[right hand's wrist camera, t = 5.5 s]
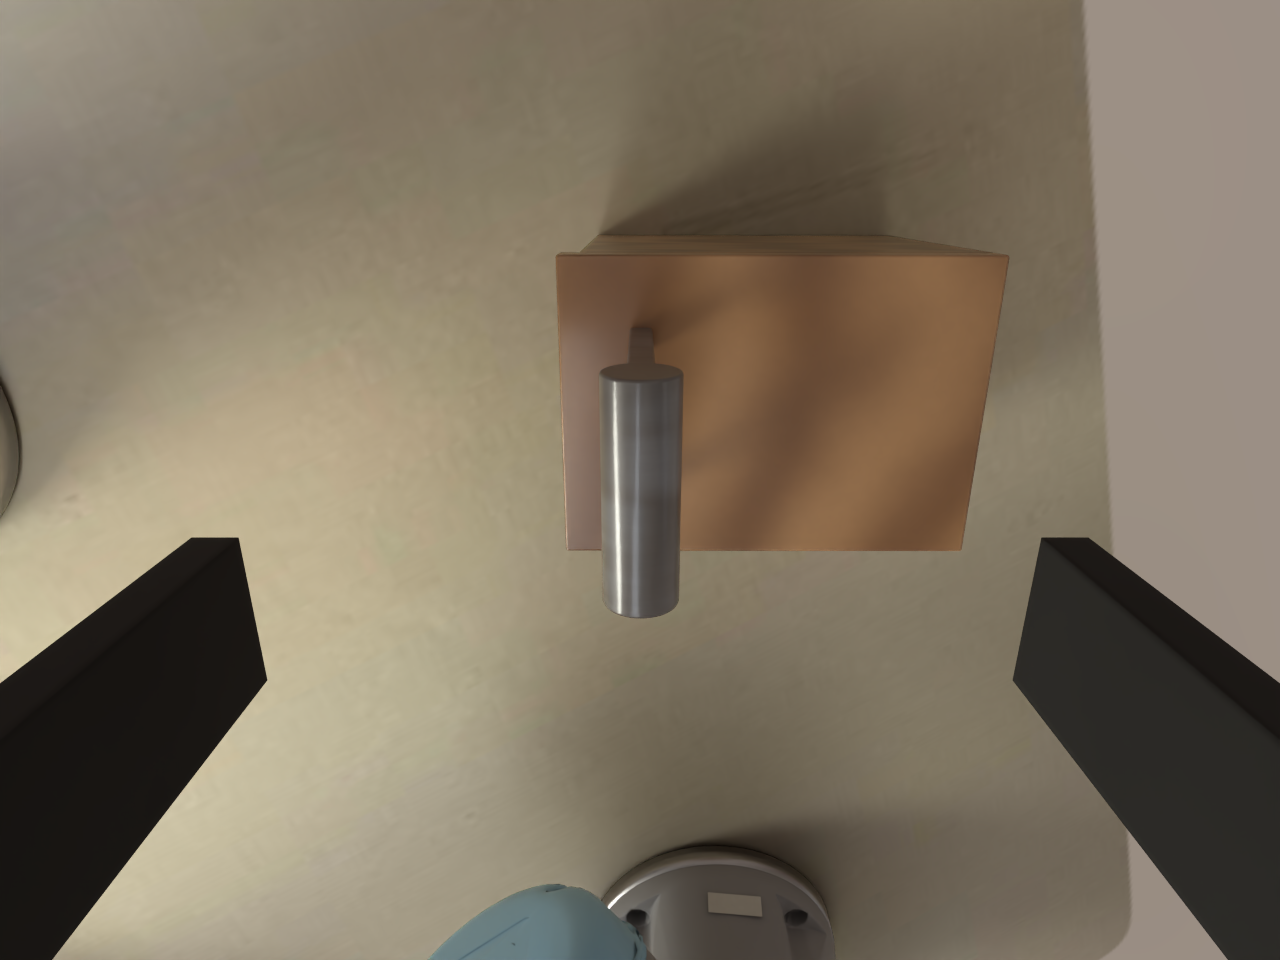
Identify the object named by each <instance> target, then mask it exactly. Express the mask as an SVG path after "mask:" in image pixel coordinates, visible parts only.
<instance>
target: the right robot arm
mask: <svg viewBox="0 0 1280 960" xmlns="http://www.w3.org/2000/svg"><path fill="white" fill-rule="evenodd" d="M18 463H19V451H18V440H17V433H16V428H15V424H14V420H13V416H12V413H11V410H10V407H9V404H8V402H7V399H6V397H5V395H4V393H3V390H2V388H1V386H0V517H1V515H2V514H3V512H4V511H5V509H6V507H7V505H8V503H9V501H10V499H11V497H12V494H13V491H14V488H15V484H16V479H17V474H18ZM266 681H267V676H266V671H265V666H264V661H263V657H262V652H261V647H260V642H259V637H258V632H257V627H256V622H255V617H254V612H253V607H252V602H251V597H250V592H249V587H248V582H247V577H246V572H245V568H244V563H243V558H242V553H241V548H240V543H239V538H190V539H189V540H188V541H187V542H185V543H184V544H183V545H181V546H180V547H179V548H177V549H176V550H175V551H173V552H172V553H171V554H169V555H168V556H167V557H166V558H164V559H163V560H162V561H160V562H159V563H158V564H156V565H155V566H154V567H152V568H151V569H150V570H148V571H147V572H146V573H144V574H143V575H142V576H141V577H139V578H138V579H137V580H135V581H134V582H133V583H131V584H130V585H129V586H127V587H126V588H125V589H123V590H122V591H121V592H120V593H118V594H117V595H116V596H114V597H113V598H112V599H110V600H109V601H108V602H106V603H105V604H104V605H102V606H101V607H100V608H99V609H97V610H96V611H95V612H93V613H92V614H91V615H89V616H88V617H87V618H85V619H84V620H83V621H81V622H80V623H79V624H78V625H76V626H75V627H74V628H72V629H71V630H70V631H68V632H67V633H66V634H64V635H63V636H62V637H60V638H59V639H58V640H56V641H55V642H54V643H53V644H51V645H50V646H49V647H47V648H46V649H45V650H43V651H42V652H41V653H39V654H38V655H37V656H35V657H34V658H33V659H32V660H30V661H29V662H28V663H26V664H25V665H24V666H22V667H21V668H20V669H18V670H17V671H16V672H14V673H13V674H12V675H11V676H9V677H8V678H7V679H5V680H4V681H3V682H1V683H0V960H52V959H53V958H54V957H55V955H56V954H57V953H58V951H59V950H60V949H61V947H62V946H63V945H64V944H65V942H66V941H67V940H68V938H69V937H70V936H71V934H72V933H73V932H74V931H75V929H76V928H77V927H78V925H79V924H80V923H81V921H82V920H83V919H84V918H85V916H86V915H87V914H88V912H89V911H90V910H91V908H92V907H93V906H94V905H95V903H96V902H97V901H98V899H99V898H100V897H101V896H102V894H103V893H104V892H105V890H106V889H107V888H108V886H109V885H110V884H111V883H112V881H113V880H114V879H115V877H116V876H117V875H118V873H119V872H120V871H121V870H122V868H123V867H124V866H125V864H126V863H127V862H128V860H129V859H130V858H131V857H132V855H133V854H134V853H135V851H136V850H137V849H138V847H139V846H140V845H141V844H142V842H143V841H144V840H145V838H146V837H147V836H148V834H149V833H150V832H151V831H152V829H153V828H154V827H155V825H156V824H157V823H158V821H159V820H160V819H161V818H162V816H163V815H164V814H165V812H166V811H167V810H168V809H169V807H170V806H171V805H172V803H173V802H174V801H175V799H176V798H177V797H178V796H179V794H180V793H181V792H182V790H183V789H184V788H185V786H186V785H187V784H188V783H189V781H190V780H191V779H192V777H193V776H194V775H195V773H196V772H197V771H198V770H199V768H200V767H201V766H202V764H203V763H204V762H205V760H206V759H207V758H208V757H209V755H210V754H211V753H212V751H213V750H214V749H215V747H216V746H217V745H218V744H219V742H220V741H221V740H222V738H223V737H224V736H225V734H226V733H227V732H228V731H229V729H230V728H231V727H232V725H233V724H234V723H235V722H236V720H237V719H238V718H239V716H240V715H241V714H242V712H243V711H244V710H245V709H246V707H247V706H248V705H249V703H250V702H251V701H252V699H253V698H254V697H255V696H256V694H257V693H258V692H259V690H260V689H261V688H262V686H263V685H264V684H265V683H266ZM1013 681H1014V683H1015V684H1016V685H1017V686H1018V688H1019V689H1020V690H1021V692H1022V693H1023V694H1024V696H1025V697H1026V698H1027V699H1028V701H1029V702H1030V703H1031V705H1032V706H1033V707H1034V709H1035V710H1036V711H1037V712H1038V714H1039V715H1040V716H1041V718H1042V719H1043V720H1044V722H1045V723H1046V724H1047V725H1048V727H1049V728H1050V729H1051V731H1052V732H1053V733H1054V734H1055V736H1056V737H1057V738H1058V740H1059V741H1060V742H1061V744H1062V745H1063V746H1064V747H1065V749H1066V750H1067V751H1068V753H1069V754H1070V755H1071V757H1072V758H1073V759H1074V760H1075V762H1076V763H1077V764H1078V766H1079V767H1080V768H1081V770H1082V771H1083V772H1084V773H1085V775H1086V776H1087V777H1088V779H1089V780H1090V781H1091V783H1092V784H1093V785H1094V786H1095V788H1096V789H1097V790H1098V792H1099V793H1100V794H1101V796H1102V797H1103V798H1104V799H1105V801H1106V802H1107V803H1108V805H1109V806H1110V807H1111V809H1112V810H1113V811H1114V812H1115V814H1116V815H1117V816H1118V818H1119V819H1120V820H1121V821H1122V823H1123V824H1124V825H1125V827H1126V828H1127V829H1128V831H1129V832H1130V833H1131V834H1132V836H1133V837H1134V838H1135V840H1136V841H1137V842H1138V844H1139V845H1140V846H1141V847H1142V849H1143V850H1144V851H1145V853H1146V854H1147V855H1148V857H1149V858H1150V859H1151V860H1152V862H1153V863H1154V864H1155V866H1156V867H1157V868H1158V870H1159V871H1160V872H1161V873H1162V875H1163V876H1164V877H1165V879H1166V880H1167V881H1168V883H1169V884H1170V885H1171V886H1172V888H1173V889H1174V890H1175V892H1176V893H1177V894H1178V896H1179V897H1180V898H1181V899H1182V901H1183V902H1184V903H1185V905H1186V906H1187V907H1188V908H1189V910H1190V911H1191V912H1192V914H1193V915H1194V916H1195V918H1196V919H1197V920H1198V921H1199V923H1200V924H1201V925H1202V927H1203V928H1204V929H1205V931H1206V932H1207V933H1208V934H1209V936H1210V937H1211V938H1212V940H1213V941H1214V942H1215V944H1216V945H1217V946H1218V947H1219V949H1220V950H1221V951H1222V953H1223V954H1224V955H1225V957H1226V958H1227V959H1228V960H1280V683H1279V682H1277V681H1276V680H1275V679H1273V678H1272V677H1271V676H1269V675H1268V674H1267V673H1266V672H1264V671H1263V670H1262V669H1260V668H1259V667H1258V666H1256V665H1255V664H1254V663H1252V662H1251V661H1250V660H1248V659H1247V658H1246V657H1245V656H1243V655H1242V654H1241V653H1239V652H1238V651H1237V650H1235V649H1234V648H1233V647H1231V646H1230V645H1229V644H1227V643H1226V642H1225V641H1223V640H1222V639H1221V638H1220V637H1218V636H1217V635H1216V634H1214V633H1213V632H1212V631H1210V630H1209V629H1208V628H1206V627H1205V626H1204V625H1202V624H1201V623H1200V622H1199V621H1197V620H1196V619H1195V618H1193V617H1192V616H1191V615H1189V614H1188V613H1187V612H1185V611H1184V610H1183V609H1181V608H1180V607H1179V606H1178V605H1176V604H1175V603H1174V602H1172V601H1171V600H1170V599H1168V598H1167V597H1166V596H1164V595H1163V594H1162V593H1160V592H1159V591H1158V590H1156V589H1155V588H1154V587H1153V586H1151V585H1150V584H1149V583H1147V582H1146V581H1145V580H1143V579H1142V578H1141V577H1139V576H1138V575H1137V574H1135V573H1134V572H1133V571H1132V570H1130V569H1129V568H1128V567H1126V566H1125V565H1124V564H1122V563H1121V562H1120V561H1118V560H1117V559H1116V558H1114V557H1113V556H1112V555H1111V554H1109V553H1108V552H1107V551H1105V550H1104V549H1103V548H1101V547H1100V546H1099V545H1097V544H1096V543H1095V542H1093V541H1092V540H1091V539H1090V538H1041V543H1040V548H1039V553H1038V558H1037V563H1036V568H1035V572H1034V577H1033V582H1032V587H1031V592H1030V597H1029V602H1028V607H1027V612H1026V617H1025V622H1024V627H1023V632H1022V637H1021V642H1020V647H1019V652H1018V657H1017V661H1016V666H1015V671H1014V676H1013Z"/></svg>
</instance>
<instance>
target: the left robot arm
mask: <svg viewBox="0 0 1280 960" xmlns="http://www.w3.org/2000/svg"><path fill="white" fill-rule="evenodd" d="M428 960H836V958H835V947H834V937H833V933H832V928H831V925H830V921H829V917H828V913H827V910H826V907H825V905H824V902H823V900H822V898H821V897H820V895H819V893H818V892H817V890H816V889H815V888H814V887H813V885H812V884H811V883H810V882H809V881H808V880H807V879H806V878H805V877H804V876H803V875H802V874H800V873H799V872H798V871H796V870H795V869H794V868H792V867H791V866H789V865H787V864H786V863H784V862H782V861H780V860H778V859H776V858H774V857H771V856H768V855H766V854H763V853H760V852H756V851H753V850H748V849H743V848H737V847H728V846H701V847H692V848H686V849H681V850H676V851H673V852H669V853H666V854H663V855H660V856H657V857H655V858H653V859H650V860H648V861H646V862H644V863H642V864H640V865H639V866H637V867H635V868H634V869H632V870H631V871H629V872H628V873H626V874H625V875H624V876H623V877H622V878H620V879H619V880H618V881H617V882H616V883H615V884H614V885H613V886H612V887H611V888H610V890H609V891H608V892H607V893H606V895H605V896H604V898H603V899H602V901H601V900H600V899H599V898H597V897H596V896H595V895H594V894H592V893H590V892H589V891H587V890H585V889H582V888H576V887H566V886H565V885H561V884H548V885H541V886H536V887H532V888H529V889H526V890H523V891H520V892H517V893H515V894H513V895H511V896H509V897H507V898H505V899H503V900H501V901H499V902H497V903H496V904H494V905H492V906H491V907H489V908H487V909H486V910H484V911H483V912H481V913H480V914H478V915H477V916H476V917H474V918H473V919H471V920H470V921H469V922H468V923H466V924H465V925H464V926H463V927H461V928H460V929H459V930H458V931H457V932H455V933H454V934H453V935H452V936H451V937H450V938H449V939H448V940H447V941H446V942H445V943H443V944H442V945H441V946H440V947H439V948H438V949H437V950H436V951H435V952H434V953H433V955H432V956H431V957H430V958H429V959H428Z"/></svg>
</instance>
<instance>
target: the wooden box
mask: <svg viewBox="0 0 1280 960" xmlns="http://www.w3.org/2000/svg"><path fill="white" fill-rule="evenodd" d="M580 253H992V252H985V251H979V250H973V249H967V248H961V247H954V246H948V245H942V244H936V243H929V242H923V241H917V240H911V239H905V238H898V237H892V236H761V235H598V236H597V237H596V238H595V239H594V240H593V241H591V242H590V243H589V244H588V245H587V246H586V247H585V248H584V249H583V250H582V251H581V252H580Z"/></svg>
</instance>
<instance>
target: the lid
mask: <svg viewBox="0 0 1280 960" xmlns="http://www.w3.org/2000/svg"><path fill="white" fill-rule="evenodd" d="M1008 263H1009V256H1008V255H1004V254H997V253H564V252H561V253H559V254H558V255H556V280H557V307H558V335H559V363H560V391H561V419H562V446H563V474H564V502H565V530H566V549H567V550H602V581H603V601H604V604H605V605H606V607H607V608H608V609H609V610H611V611H612V612H614V613H616V614H618V615H621V616H625V617H630V618H652V617H657V616H661V615H663V614H666V613H668V612H670V611H671V610H672V609H674V608H675V607H676V605H677V603H678V601H679V570H680V550H725V551H960V550H961V549H962V543H963V536H964V530H965V524H966V518H967V512H968V506H969V500H970V494H971V488H972V482H973V476H974V470H975V463H976V457H977V451H978V445H979V439H980V433H981V427H982V421H983V415H984V409H985V403H986V397H987V390H988V384H989V378H990V372H991V366H992V360H993V354H994V348H995V342H996V336H997V330H998V324H999V317H1000V311H1001V305H1002V299H1003V293H1004V287H1005V281H1006V275H1007V269H1008Z"/></svg>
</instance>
